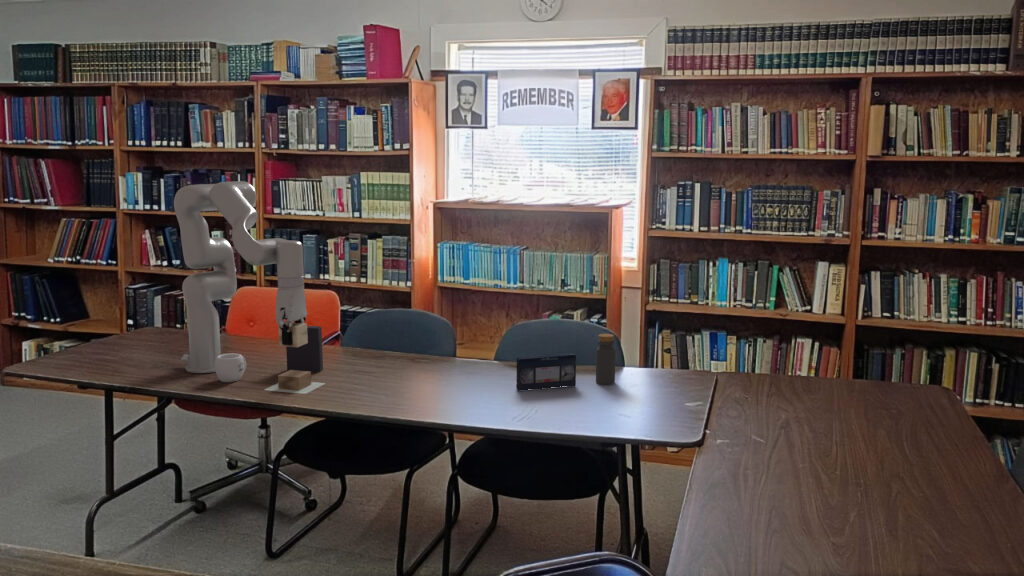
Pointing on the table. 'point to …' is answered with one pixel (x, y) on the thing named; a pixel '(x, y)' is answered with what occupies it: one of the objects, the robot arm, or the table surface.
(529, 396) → the table surface
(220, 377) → the mug
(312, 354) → the black upright slab
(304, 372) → the walnut block
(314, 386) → the board
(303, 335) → the maple cube
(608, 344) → the bottle
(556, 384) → the vhs cassette tape
